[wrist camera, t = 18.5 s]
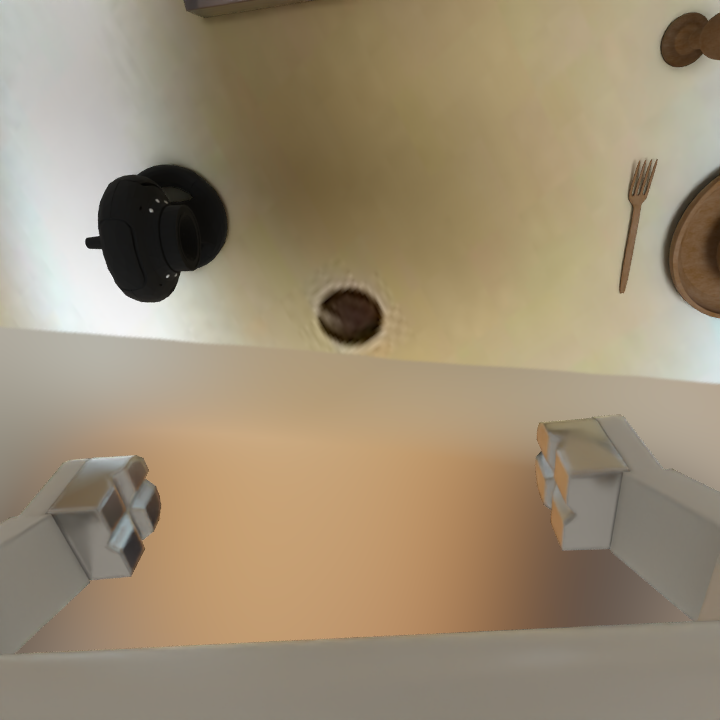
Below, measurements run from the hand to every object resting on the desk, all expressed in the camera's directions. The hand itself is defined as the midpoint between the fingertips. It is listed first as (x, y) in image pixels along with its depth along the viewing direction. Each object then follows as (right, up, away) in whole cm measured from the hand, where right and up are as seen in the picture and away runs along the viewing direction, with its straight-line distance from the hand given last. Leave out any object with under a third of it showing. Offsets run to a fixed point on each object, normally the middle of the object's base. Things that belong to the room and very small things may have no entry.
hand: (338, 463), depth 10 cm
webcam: (-13, +13, +27) cm, 32 cm away
